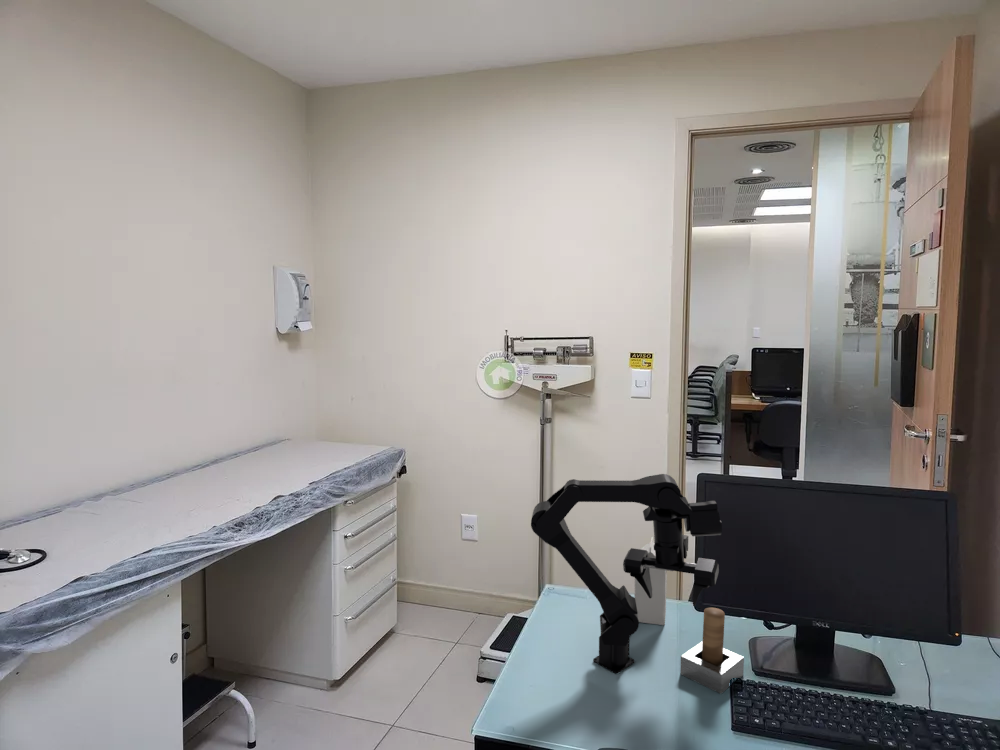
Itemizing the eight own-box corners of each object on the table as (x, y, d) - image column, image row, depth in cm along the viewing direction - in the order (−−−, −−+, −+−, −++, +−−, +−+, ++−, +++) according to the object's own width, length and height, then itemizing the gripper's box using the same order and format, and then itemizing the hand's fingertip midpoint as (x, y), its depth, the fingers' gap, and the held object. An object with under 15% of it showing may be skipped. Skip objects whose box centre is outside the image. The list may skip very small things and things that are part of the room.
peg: (715, 680, 127) (718, 619, 125) (697, 671, 130) (700, 611, 128) (725, 672, 129) (728, 612, 128) (707, 664, 132) (710, 605, 131)
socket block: (721, 693, 123) (721, 674, 123) (680, 674, 130) (680, 655, 129) (743, 675, 129) (743, 656, 129) (703, 657, 136) (703, 639, 135)
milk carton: (634, 622, 151) (635, 545, 149) (636, 608, 158) (637, 535, 156) (664, 626, 149) (666, 548, 147) (665, 612, 156) (667, 538, 154)
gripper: (721, 522, 133) (724, 586, 137) (634, 512, 141) (639, 573, 145) (713, 550, 123) (715, 618, 127) (620, 537, 132) (625, 601, 136)
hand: (672, 601), depth 134 cm, fingers open, 9 cm apart
